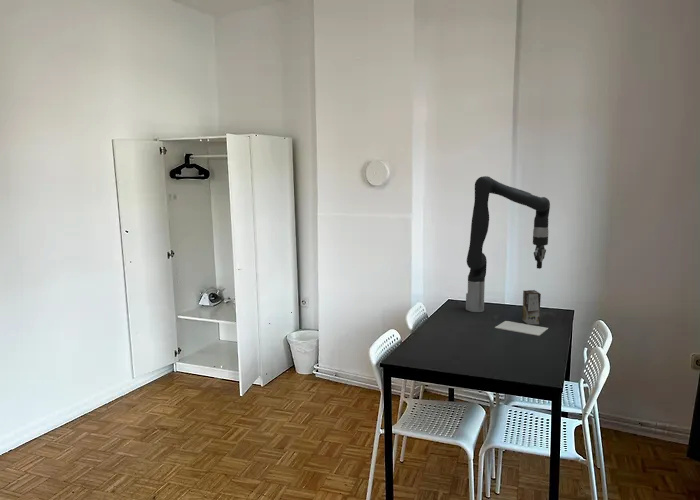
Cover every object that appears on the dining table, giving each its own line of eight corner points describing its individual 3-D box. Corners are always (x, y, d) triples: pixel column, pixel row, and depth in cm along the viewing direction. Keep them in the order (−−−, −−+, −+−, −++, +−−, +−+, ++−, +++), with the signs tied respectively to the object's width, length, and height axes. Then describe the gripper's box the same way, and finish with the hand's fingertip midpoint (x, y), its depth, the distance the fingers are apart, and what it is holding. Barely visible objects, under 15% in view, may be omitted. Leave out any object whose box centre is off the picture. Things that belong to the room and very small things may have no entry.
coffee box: (539, 324, 268) (541, 293, 266) (527, 324, 269) (528, 294, 266) (534, 319, 277) (535, 289, 275) (521, 319, 278) (522, 289, 275)
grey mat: (494, 328, 264) (494, 327, 264) (505, 321, 275) (505, 320, 274) (539, 335, 250) (539, 335, 250) (548, 328, 261) (548, 328, 261)
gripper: (537, 233, 282) (536, 265, 284) (529, 236, 271) (527, 269, 274) (551, 234, 277) (550, 267, 280) (543, 237, 267) (542, 271, 269)
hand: (539, 268), depth 277 cm, fingers closed
